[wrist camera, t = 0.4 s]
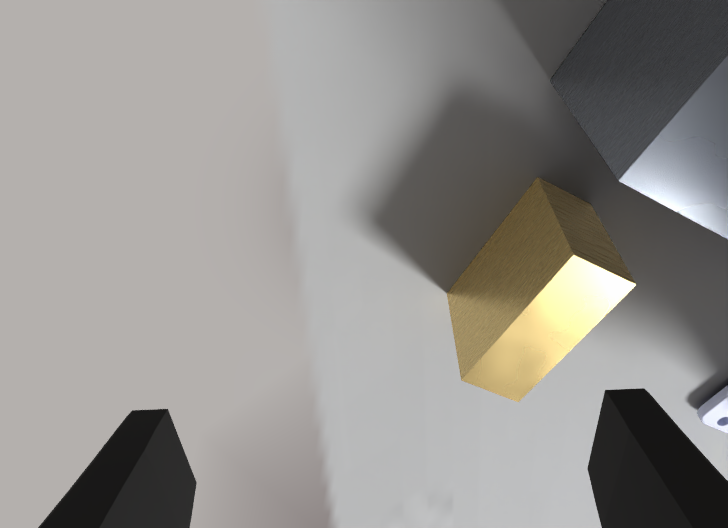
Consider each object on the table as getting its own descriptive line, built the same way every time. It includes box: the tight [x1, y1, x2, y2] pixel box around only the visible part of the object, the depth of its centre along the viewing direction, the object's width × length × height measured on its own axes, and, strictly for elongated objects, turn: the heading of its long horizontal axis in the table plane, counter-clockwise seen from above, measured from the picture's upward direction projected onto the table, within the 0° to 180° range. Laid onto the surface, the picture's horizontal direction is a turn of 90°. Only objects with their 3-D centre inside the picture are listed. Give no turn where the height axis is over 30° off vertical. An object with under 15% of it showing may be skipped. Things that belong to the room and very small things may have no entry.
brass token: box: [447, 177, 636, 402], centre depth 18 cm, size 2×5×4 cm, turn 152°
